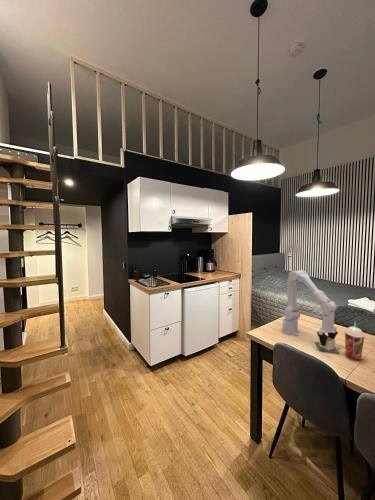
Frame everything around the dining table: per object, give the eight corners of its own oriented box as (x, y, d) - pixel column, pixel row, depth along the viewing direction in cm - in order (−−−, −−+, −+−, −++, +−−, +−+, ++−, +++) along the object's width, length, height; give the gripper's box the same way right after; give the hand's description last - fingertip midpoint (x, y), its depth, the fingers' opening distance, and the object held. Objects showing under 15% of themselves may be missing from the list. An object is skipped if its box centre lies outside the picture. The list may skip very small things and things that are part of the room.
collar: (319, 345, 126) (319, 337, 126) (325, 343, 128) (325, 336, 128) (329, 350, 121) (329, 342, 120) (334, 348, 123) (335, 340, 123)
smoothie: (364, 363, 110) (366, 326, 108) (344, 358, 114) (346, 323, 113) (361, 356, 117) (363, 321, 115) (342, 351, 121) (344, 318, 120)
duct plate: (319, 351, 122) (319, 344, 121) (315, 342, 131) (315, 336, 131) (339, 354, 118) (339, 347, 118) (333, 345, 128) (334, 338, 127)
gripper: (327, 326, 117) (326, 350, 118) (342, 322, 123) (341, 344, 124) (315, 322, 123) (314, 344, 124) (330, 317, 129) (329, 339, 130)
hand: (326, 343), depth 125 cm, fingers open, 7 cm apart
